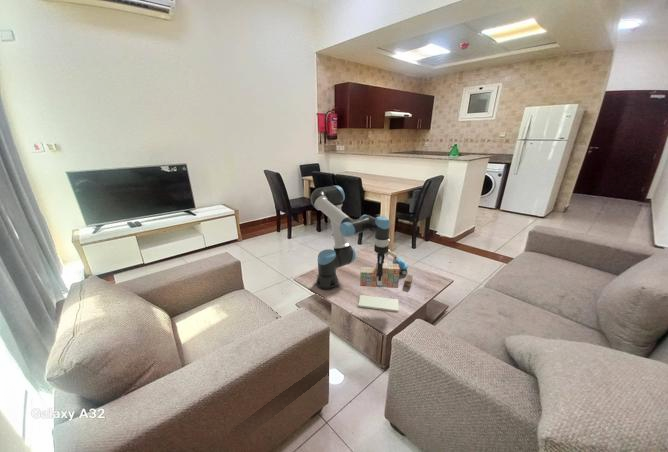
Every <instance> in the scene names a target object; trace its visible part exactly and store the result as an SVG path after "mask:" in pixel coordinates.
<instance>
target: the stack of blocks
mask: <svg viewBox="0 0 668 452" xmlns="http://www.w3.org/2000/svg"><path fill="white" fill-rule="evenodd" d="M399 271H400V269H399V265H398V264H393V263H392V262H384V263H383V268H382V285H377V275H376V274H378V263H377V262H376V266H375V267H373V266H371V267H370V266H361V267H360V275H359V278H360V279H359V281H360V282H359V283H360V284H359V285H360V287H371V288H388V289H389V288H391V289H394V288H395V289H398V288H399V281H400V272H399Z"/></svg>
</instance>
